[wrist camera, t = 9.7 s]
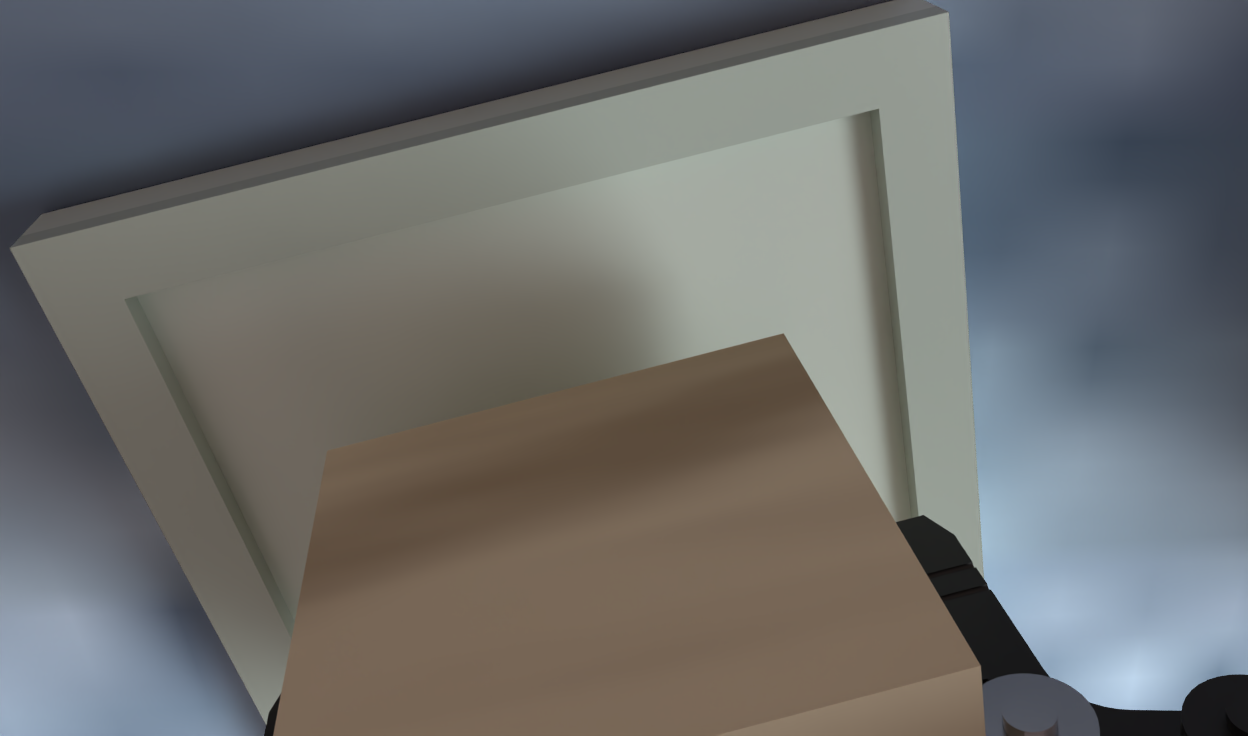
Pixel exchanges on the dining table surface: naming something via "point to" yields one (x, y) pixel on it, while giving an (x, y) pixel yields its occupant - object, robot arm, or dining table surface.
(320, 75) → the dining table surface
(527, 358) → the coaster
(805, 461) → the maple cube
